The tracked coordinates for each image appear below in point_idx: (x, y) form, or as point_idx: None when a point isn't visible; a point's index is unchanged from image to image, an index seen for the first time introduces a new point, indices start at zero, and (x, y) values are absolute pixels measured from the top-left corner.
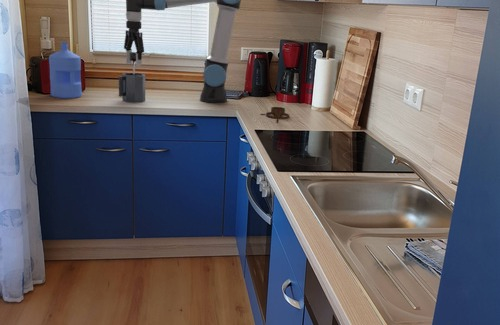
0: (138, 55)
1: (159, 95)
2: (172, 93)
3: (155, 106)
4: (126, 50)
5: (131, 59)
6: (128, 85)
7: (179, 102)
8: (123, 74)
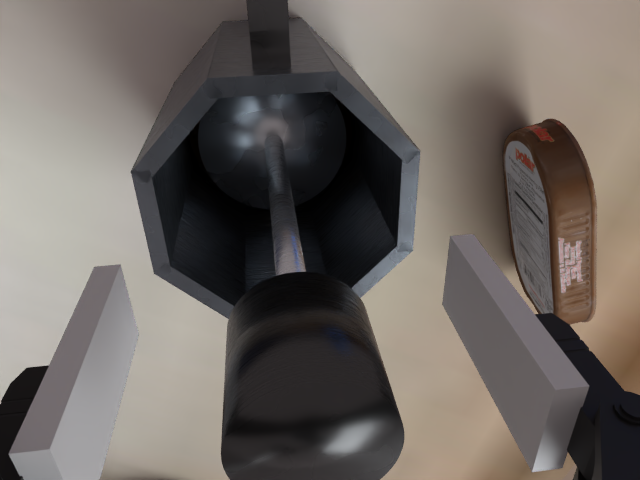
0: (13, 435)
1: (402, 348)
2: (431, 427)
3: (3, 180)
4: (603, 398)
5: (262, 295)
6: (197, 71)
7: (140, 372)
8: (295, 73)
